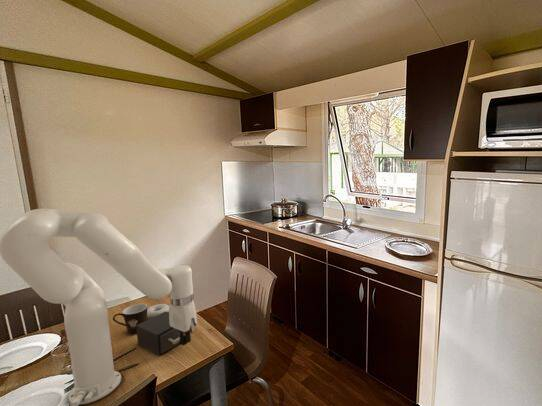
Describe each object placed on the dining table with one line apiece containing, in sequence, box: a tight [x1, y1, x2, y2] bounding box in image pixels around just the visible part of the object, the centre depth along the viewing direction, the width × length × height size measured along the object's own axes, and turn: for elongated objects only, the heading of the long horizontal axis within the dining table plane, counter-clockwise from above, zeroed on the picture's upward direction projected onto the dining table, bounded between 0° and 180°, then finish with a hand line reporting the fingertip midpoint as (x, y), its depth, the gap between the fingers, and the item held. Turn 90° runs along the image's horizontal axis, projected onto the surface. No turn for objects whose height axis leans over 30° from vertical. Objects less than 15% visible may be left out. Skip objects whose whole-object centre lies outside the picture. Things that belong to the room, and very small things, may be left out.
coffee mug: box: [112, 303, 148, 336], centre depth 118 cm, size 12×9×10 cm
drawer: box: [159, 328, 180, 354], centre depth 110 cm, size 17×10×7 cm, turn 65°
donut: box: [147, 303, 170, 320], centre depth 131 cm, size 10×4×10 cm
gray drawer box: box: [136, 311, 173, 356], centre depth 111 cm, size 14×12×9 cm
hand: (185, 342), depth 105 cm, fingers closed
